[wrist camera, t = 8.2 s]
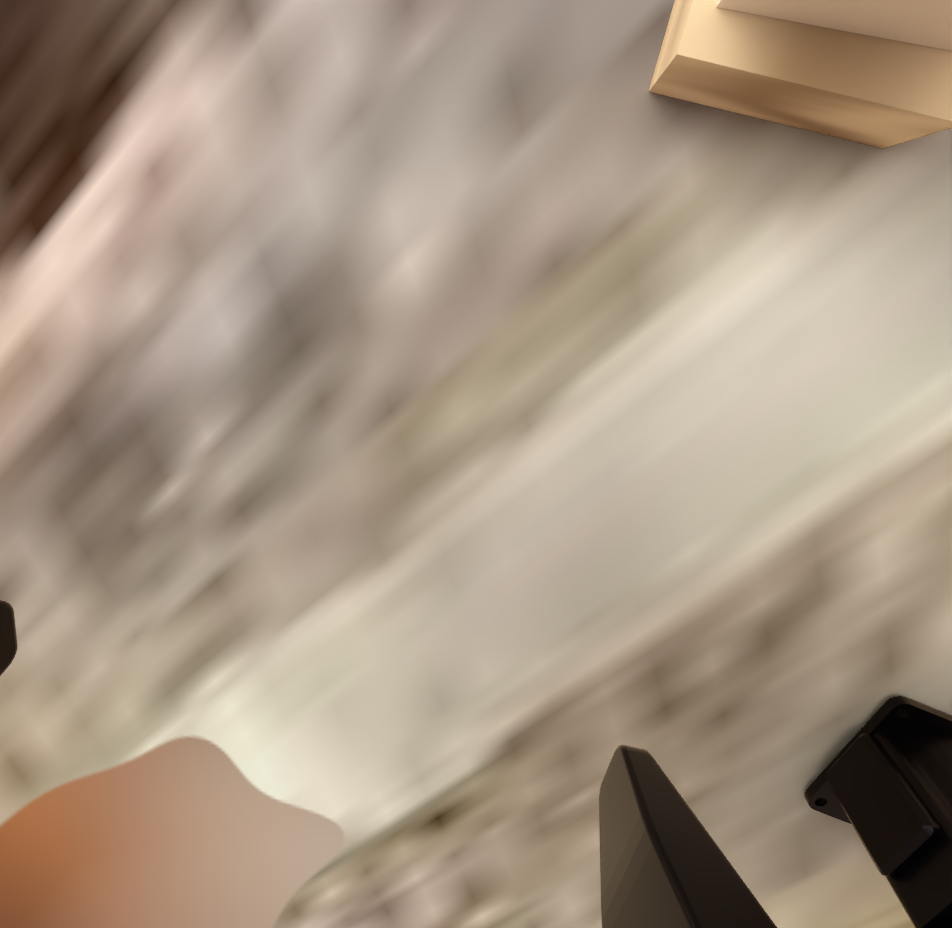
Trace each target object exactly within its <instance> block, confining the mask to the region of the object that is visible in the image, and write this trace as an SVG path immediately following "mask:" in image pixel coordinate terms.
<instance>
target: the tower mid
mask: <svg viewBox="0 0 952 928" xmlns="http://www.w3.org/2000/svg"><path fill="white" fill-rule="evenodd" d="M716 7H717V8H723V9H728V10H734V11H739V12H744V13H750V14H755V15H761V16H766V17H771V18H777V19H782V20H787V21H793V22H798V23H804V24H809V25H814V26H820V27H825V28H831V29H836V30H841V31H847V32H852V33H857V34H863V35H868V36H874V37H879V38H884V39H890V40H895V41H901V42H906V43H911V44H917V45H922V46H928V47H933V48H938V49H944V50H949V51H952V0H718V2H717V6H716Z"/></svg>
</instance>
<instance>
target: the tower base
mask: <svg viewBox="0 0 952 928" xmlns="http://www.w3.org/2000/svg"><path fill="white" fill-rule="evenodd" d="M717 2H718V0H675V3H674V6H673V10H672V13H671V16H670V20H669V23H668V27H667V30H666V34H665V37H664V41H663V44H662V48H661V51H660V55H659V58H658V61H657V65H656V68H655V72H654V75H653V79H652V82H651V86H650V89H649V92H653V93H657V94H661V95H665V96H669V97H673V98H677V99H681V100H686V101H690V102H694V103H698V104H702V105H706V106H710V107H714V108H718V109H723V110H727V111H731V112H735V113H739V114H743V115H747V116H751V117H755V118H759V119H764V120H768V121H772V122H776V123H780V124H784V125H788V126H792V127H796V128H801V129H805V130H809V131H813V132H817V133H821V134H825V135H829V136H833V137H838V138H842V139H846V140H850V141H854V142H858V143H862V144H866V145H870V146H875V147H879V148H886V147H889V146H892V145H896V144H899V143H902V142H906V141H909V140H912V139H916V138H919V137H922V136H926V135H929V134H932V133H936V132H939V131H942V130H945V129H949V128H952V51H949V50H944V49H938V48H933V47H928V46H922V45H917V44H911V43H906V42H901V41H895V40H890V39H884V38H879V37H874V36H868V35H863V34H857V33H852V32H847V31H841V30H836V29H831V28H825V27H820V26H814V25H809V24H804V23H798V22H793V21H787V20H782V19H777V18H771V17H766V16H761V15H755V14H750V13H744V12H739V11H734V10H728V9H723V8H717V7H716V6H717Z"/></svg>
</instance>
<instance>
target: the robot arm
mask: <svg viewBox="0 0 952 928" xmlns="http://www.w3.org/2000/svg"><path fill="white" fill-rule="evenodd" d="M16 651H17V637H16V628H15V618H14V611H13V608H12V606H11V605H10V604H9V603H7V602H5V601H1V600H0V676H1V675H2V673H3V672H4V671H5V670H6V669H7V668H8V666H9V665H10V664H11V662H12V660H13V659H14V657H15V654H16ZM900 709H901V710H900ZM804 796H805V798H806V800H807V802H808V804H809V806H810V807H811V808H812V809H814V810H816V811H819V812H822V813H824V814H827V815H829V816H832V817H835V818H837V819H840V820H842V821H845V822H847V823H850V824H852V825H853V827H854V829H855V830H856V832H857V834H858V836H859V837H860V839H861V841H862V843H863V844H864V846H865V848H866V850H867V851H868V853H869V855H870V856H871V858H872V860H873V862H874V863H875V865H876V867H877V869H878V870H879V872H880V873H881V874H882V875H885V877H886V878H887V880H888V882H889V883H890V885H891V887H892V889H893V890H894V892H895V894H896V895H897V897H898V899H899V901H900V902H901V904H902V906H903V907H904V909H905V911H906V913H907V914H908V916H909V918H910V919H911V921H912V923H913V925H914V926H915V928H952V716H950V715H947V714H945V713H942V712H940V711H937V710H935V709H932V708H930V707H927V706H925V705H922V704H920V703H918V702H915V701H913V700H910V699H908V698H905V697H901V696H898V697H893V698H890V699H889V700H888V701H886V702H885V703H884V704H883V706H882V707H881V708H880V709H879V710H878V711H877V712H876V713H875V714H874V716H873V717H872V718H871V719H870V720H869V721H868V722H867V723H866V724H865V726H864V727H863V728H862V729H861V730H860V731H859V732H858V733H857V734H856V735H855V737H854V738H853V739H852V740H851V741H850V742H849V743H848V744H847V745H846V747H845V748H844V749H843V750H842V751H841V752H840V753H839V754H838V755H837V756H836V758H835V759H834V760H833V761H832V762H831V763H830V764H829V765H828V766H827V768H826V769H825V770H824V771H823V772H822V773H821V774H820V775H819V776H818V777H817V779H816V780H815V781H814V782H813V783H812V784H811V785H810V786H809V787H808V789H807V790H806V791H805V793H804ZM599 820H600V871H601V911H602V928H777V927H776V926H775V924H774V923H773V921H772V920H771V919H770V917H769V916H768V915H767V913H766V912H765V910H764V909H763V908H762V906H761V905H760V904H759V902H758V901H757V899H756V898H755V897H754V895H753V894H752V893H751V891H750V890H749V888H748V887H747V886H746V884H745V883H744V882H743V880H742V879H741V878H740V876H739V875H738V873H737V872H736V871H735V869H734V868H733V867H732V865H731V864H730V862H729V861H728V860H727V858H726V857H725V856H724V854H723V853H722V851H721V850H720V849H719V847H718V846H717V845H716V843H715V842H714V841H713V839H712V838H711V836H710V835H709V834H708V832H707V831H706V830H705V828H704V827H703V825H702V824H701V823H700V821H699V820H698V819H697V817H696V816H695V814H694V813H693V812H692V810H691V809H690V808H689V806H688V805H687V804H686V802H685V801H684V799H683V798H682V797H681V795H680V794H679V793H678V791H677V790H676V788H675V787H674V786H673V784H672V783H671V782H670V780H669V779H668V777H667V776H666V775H665V773H664V772H663V771H662V769H661V768H660V766H659V765H658V764H657V762H656V761H655V760H654V758H653V757H652V756H651V754H650V753H648V752H647V751H646V750H644V749H639V748H635V747H631V746H627V745H620V746H618V748H617V749H616V750H615V752H614V755H613V757H612V760H611V762H610V764H609V767H608V769H607V772H606V774H605V776H604V779H603V781H602V784H601V788H600V795H599Z"/></svg>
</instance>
